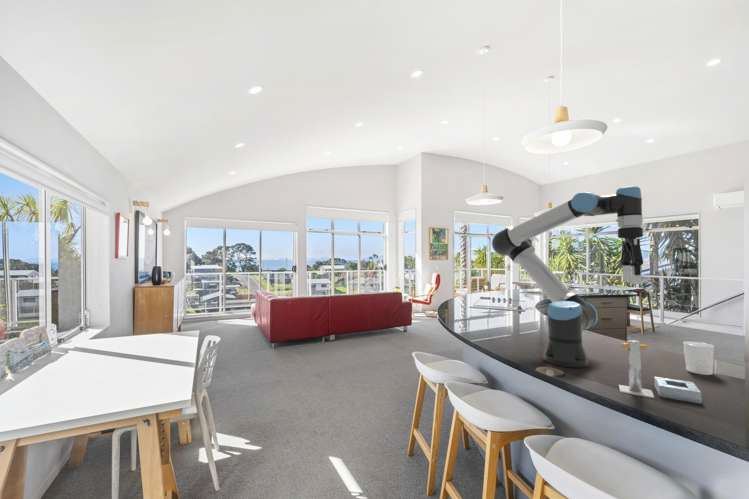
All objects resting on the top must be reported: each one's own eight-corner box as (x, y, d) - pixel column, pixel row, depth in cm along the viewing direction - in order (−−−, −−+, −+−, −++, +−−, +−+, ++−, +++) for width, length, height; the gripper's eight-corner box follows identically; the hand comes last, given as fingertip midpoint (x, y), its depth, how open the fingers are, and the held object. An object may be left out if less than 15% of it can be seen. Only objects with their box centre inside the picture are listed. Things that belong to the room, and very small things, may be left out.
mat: (620, 392, 100) (620, 390, 100) (618, 385, 105) (618, 384, 105) (654, 398, 96) (654, 396, 96) (651, 391, 101) (651, 390, 101)
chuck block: (659, 396, 97) (659, 385, 97) (654, 386, 104) (654, 376, 104) (701, 403, 92) (701, 392, 92) (693, 392, 99) (693, 382, 99)
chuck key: (622, 387, 103) (620, 339, 103) (645, 390, 100) (644, 341, 101) (624, 390, 100) (623, 341, 101) (649, 393, 98) (648, 343, 98)
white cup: (717, 377, 112) (716, 348, 112) (685, 372, 117) (684, 344, 117) (712, 371, 118) (711, 343, 119) (682, 366, 123) (681, 340, 123)
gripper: (611, 230, 138) (612, 280, 137) (626, 224, 115) (628, 284, 115) (633, 229, 134) (635, 281, 134) (653, 223, 112) (655, 285, 111)
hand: (631, 283), depth 124 cm, fingers open, 13 cm apart
